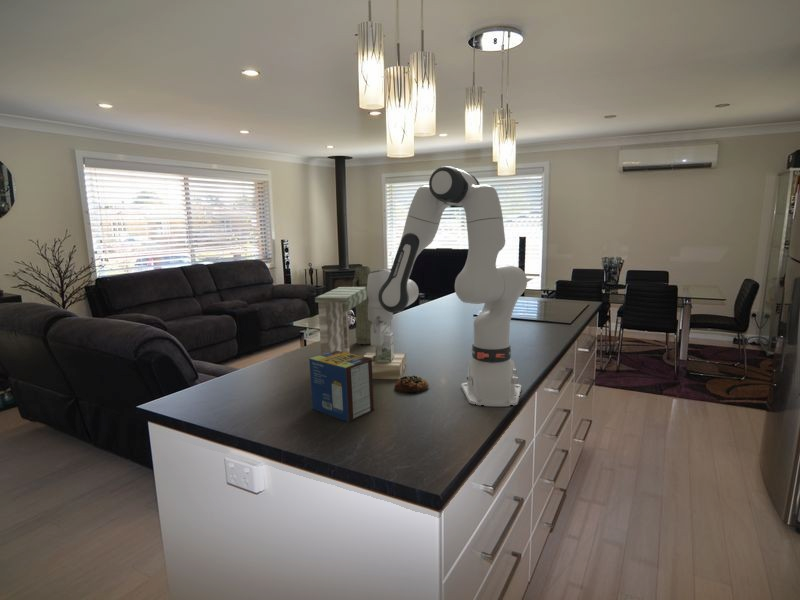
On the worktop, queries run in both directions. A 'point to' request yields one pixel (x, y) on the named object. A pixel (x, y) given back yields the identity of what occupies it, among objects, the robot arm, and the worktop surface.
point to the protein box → (342, 384)
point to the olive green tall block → (362, 308)
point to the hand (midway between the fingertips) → (381, 352)
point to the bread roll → (411, 385)
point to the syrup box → (386, 349)
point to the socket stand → (337, 331)
